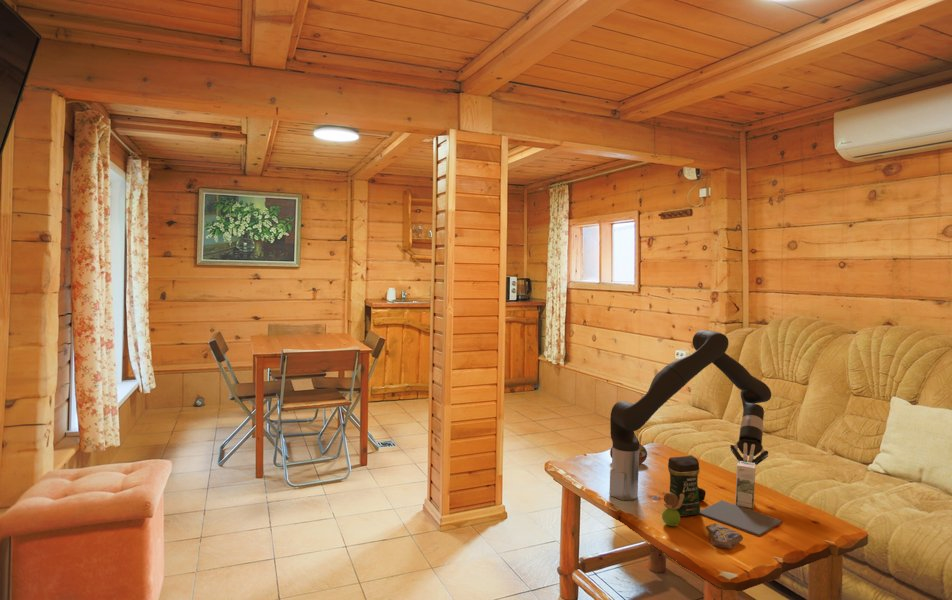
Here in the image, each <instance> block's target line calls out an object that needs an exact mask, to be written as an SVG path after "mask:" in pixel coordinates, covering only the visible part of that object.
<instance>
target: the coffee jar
mask: <svg viewBox="0 0 952 600" xmlns="http://www.w3.org/2000/svg"><path fill="white" fill-rule="evenodd" d="M668 458H669V459H668V464H667V470H668V472H669V492H668V493H673V494H675V495H676V496H677V497H678V500H679V499H680V494H683V490H685V492H684V499H683V502H682V505H681V507H680V508H679V509H676V510H677V511H678V512H679V514H680V517H686V516H687V517H688V516H694V515H700V514H699V512H700V510H701V504H700V502H701V501H699V494H698V487H699V486H698V484H699V483H698V478H699V474H700V470H701V469H700V463H699V460H698V458H696V457H695V456H694V455H685V456H675V457H673V456H671V457H668Z"/></svg>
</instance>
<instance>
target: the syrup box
mask: <svg viewBox="0 0 952 600" xmlns="http://www.w3.org/2000/svg"><path fill="white" fill-rule="evenodd" d="M756 470H757V469H756V465H755V463H750V462H748V461H747V462H743V461H738V460H737V463H736V478H735V479H736V481H735V483H736V484H735V502H734V503H735V505H737V506H740V507H743V508H746V509H750V510H751V509H752V510H753V509H754V508H755V507H754V505H755V485H756Z"/></svg>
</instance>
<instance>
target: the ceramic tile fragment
mask: <svg viewBox="0 0 952 600" xmlns="http://www.w3.org/2000/svg"><path fill="white" fill-rule="evenodd" d="M705 529H706V531H707V533H708V535H709V538H710V539H709V540H711V542H710V544H711V545H712V546H713V547H718V548H723V549H727V550H733V548H735V547H736V546H737V545H738V544H740V542H742V541H743V539H744V536H743V535H742V534H741V533H739V532H738V531H735V530H733V529H730V528H728V527H727V526H726V527H725V526H724V525H721V524H719V523H714V522H713V523H710V524H708V525H705Z"/></svg>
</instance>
